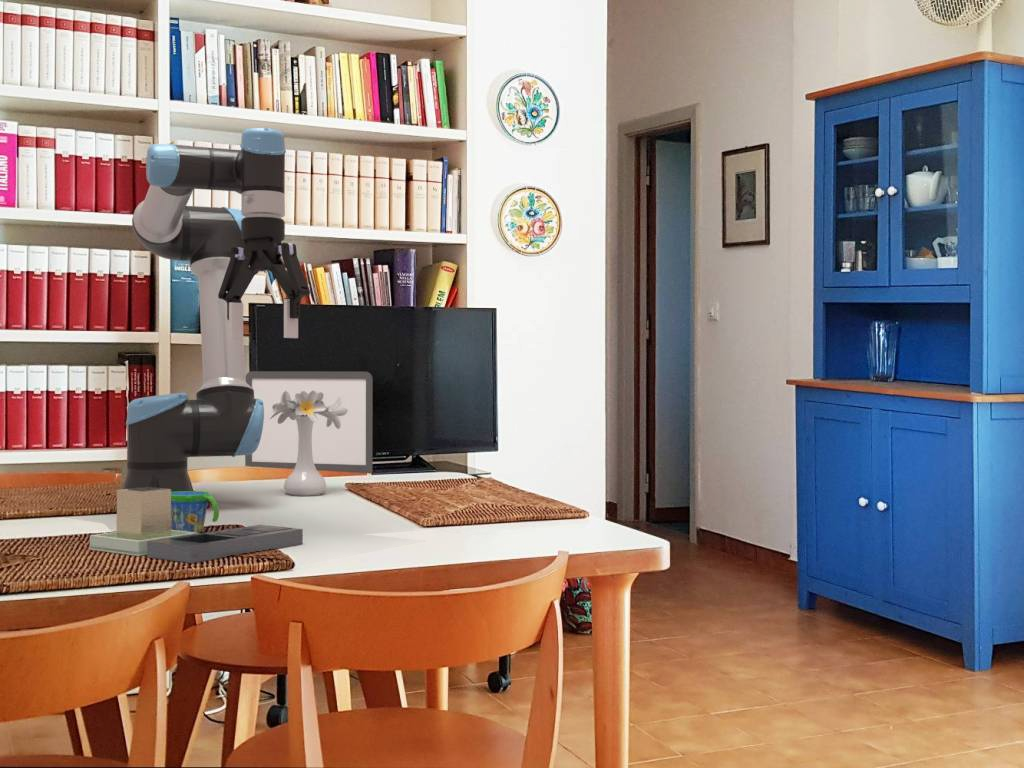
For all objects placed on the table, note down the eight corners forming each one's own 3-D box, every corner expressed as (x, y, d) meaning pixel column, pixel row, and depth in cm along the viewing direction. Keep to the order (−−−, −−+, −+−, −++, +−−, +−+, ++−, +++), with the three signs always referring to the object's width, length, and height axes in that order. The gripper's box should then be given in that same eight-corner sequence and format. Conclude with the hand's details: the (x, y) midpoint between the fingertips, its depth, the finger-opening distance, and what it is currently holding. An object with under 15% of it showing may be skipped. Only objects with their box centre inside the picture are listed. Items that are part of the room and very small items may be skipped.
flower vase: (354, 498, 268) (354, 389, 268) (299, 506, 253) (299, 390, 252) (311, 495, 275) (312, 388, 275) (255, 502, 260) (255, 389, 259)
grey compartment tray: (147, 557, 182) (147, 540, 182) (259, 539, 202) (260, 524, 202) (190, 563, 177) (190, 546, 177) (302, 544, 197) (302, 528, 197)
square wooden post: (116, 545, 191) (116, 488, 191) (146, 540, 196) (146, 486, 196) (141, 548, 188) (141, 491, 188) (170, 543, 193) (171, 488, 193)
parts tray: (89, 549, 190) (89, 535, 190) (149, 540, 200) (149, 527, 200) (138, 556, 183) (138, 541, 183) (198, 546, 193) (198, 532, 193)
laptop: (184, 489, 291) (184, 371, 291) (247, 478, 319) (247, 371, 319) (320, 494, 279) (320, 371, 279) (374, 483, 307) (374, 371, 306)
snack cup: (227, 533, 210) (227, 491, 210) (203, 538, 203) (203, 496, 203) (171, 530, 214) (171, 489, 213) (146, 536, 206) (146, 493, 206)
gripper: (198, 220, 211) (198, 339, 211) (299, 210, 197) (299, 336, 197) (230, 225, 217) (230, 340, 217) (330, 215, 203) (330, 338, 203)
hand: (263, 338), depth 207 cm, fingers open, 13 cm apart
